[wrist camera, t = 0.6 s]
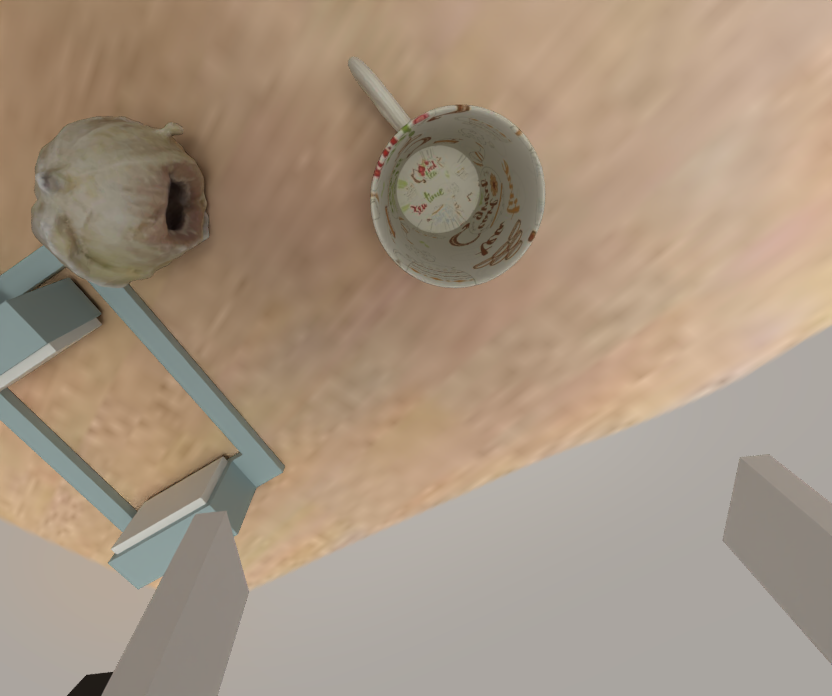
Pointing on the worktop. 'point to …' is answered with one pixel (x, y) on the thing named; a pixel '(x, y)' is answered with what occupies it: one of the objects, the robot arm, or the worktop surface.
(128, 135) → the garlic bulb
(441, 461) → the worktop surface
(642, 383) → the worktop surface
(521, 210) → the mug
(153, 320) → the vise
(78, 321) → the jaw
